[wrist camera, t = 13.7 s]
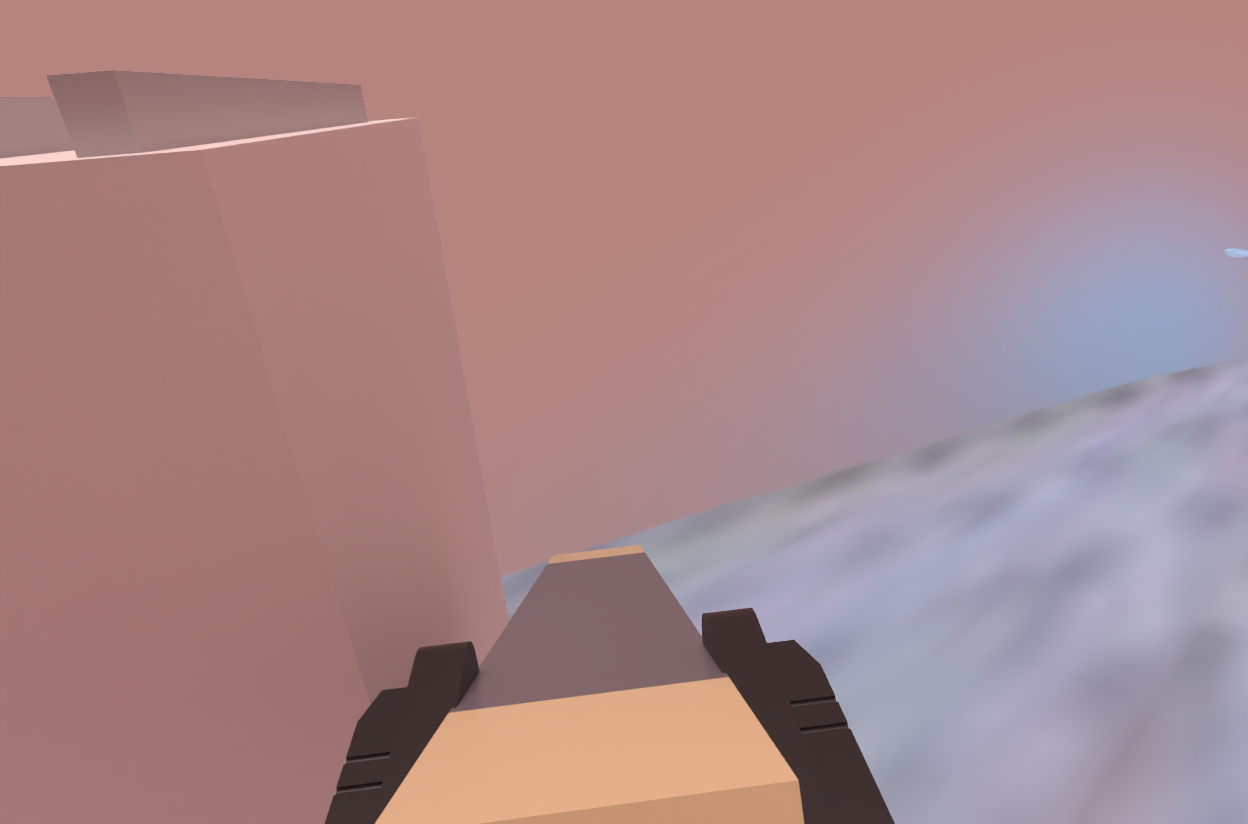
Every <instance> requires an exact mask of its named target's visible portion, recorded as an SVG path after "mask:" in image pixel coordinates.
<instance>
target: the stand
mask: <svg viewBox="0 0 1248 824" xmlns="http://www.w3.org/2000/svg"><path fill="white" fill-rule="evenodd" d="M47 79H48V81H49V84H50V87H51V89H52V92H53V95H54V97H0V824H325V821H326V817H327V814H328V811H329V808H330V805H331V802H332V799H333V796H334V795H336V792H337V789H336V786H337V783H338V780H339V777H340V774H341V771H342V768H343V765H344V764H346V756H347V752H348V749H349V746H350V743H351V740H352V737H353V734H354V731H355V728H356V725H357V722H358V720H359V719H360V718H361V717H362V715H363V714H364V713H365V711H366V710H367V709H368V708H369V706H370V705H371V704H372V702H373V701H374V700H375V699H376V697H377V696H378V695H379V693H380V692H381V691H382V690H387V689H395V688H403V687H407V686H408V682H409V678H410V674H411V670H412V666H413V662H414V659H415V655H416V652H417V650H418V649H419V648H420V647H427V646H435V645H443V644H452V643H460V642H468V641H471V642H472V643H473V645H474V648H475V652H476V657H477V661H478V666H480V665H481V663H482V662H483V660H484V659H485V657H486V656H487V654H488V653H489V651H490V650H491V648H492V647H493V645H494V644H495V642H496V641H497V639H498V638H499V636H500V635H501V633H502V632H503V630H504V629H505V627H506V626H507V624H508V623H509V620H508V614H507V609H506V603H505V598H504V592H503V587H502V581H501V575H500V570H499V564H498V559H497V553H496V548H495V542H494V537H493V531H492V526H491V520H490V515H489V509H488V504H487V498H486V492H485V487H484V481H483V476H482V470H481V465H480V459H479V454H478V449H477V443H476V438H475V432H474V426H473V420H472V415H471V409H470V404H469V398H468V394H467V387H466V382H465V377H464V371H463V365H462V360H461V354H460V349H459V343H458V337H457V332H456V327H455V321H454V315H453V310H452V305H451V299H450V293H449V288H448V282H447V277H446V271H445V266H444V260H443V255H442V249H441V243H440V238H439V232H438V227H437V222H436V216H435V211H434V205H433V200H432V194H431V188H430V183H429V177H428V171H427V166H426V160H425V155H424V149H423V145H422V138H421V133H420V128H419V122H418V118H417V117H416V118H405V119H393V120H392V119H391V120H379V121H368V119H367V115H366V110H365V105H364V100H363V95H362V91H361V87H360V85H351V84H334V83H316V82H300V81H299V82H298V81H283V80H282V81H281V80H266V79H249V78H232V77H215V76H213V77H212V76H198V75H180V74H163V73H145V72H129V71H102V72H88V73H75V74H62V75H48V76H47Z"/></svg>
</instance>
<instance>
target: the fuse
mask: <svg viewBox="0 0 1248 824" xmlns="http://www.w3.org/2000/svg"><path fill="white" fill-rule="evenodd" d="M375 824H804V817H803V810H802V802H801V795H800V787H799V780H798V779H797V777H796V776H795V774H794V773H793V771H792V770H791V768H790V767H789V765H788V764H787V762H786V761H785V759H784V758H783V756H782V755H781V753H780V752H779V750H778V749H777V747H776V746H775V744H774V743H773V742H772V740H771V739H770V737H769V736H768V734H767V733H766V731H765V730H764V728H763V727H762V725H761V724H760V722H759V721H758V719H757V718H756V716H755V715H754V713H753V712H752V710H751V709H750V708H749V706H748V705H747V703H746V702H745V700H744V699H743V697H742V696H741V694H740V693H739V691H738V690H737V688H736V687H735V685H734V684H733V682H732V681H731V679H730V678H729V676H728V675H727V673H722V672H721V671H720V669H719V668H718V666H717V665H716V663H715V662H714V660H713V658H712V657H711V655H710V654H709V652H708V651H707V649H706V648H705V646H704V645H703V640H702V636H701V635H700V634H699V632H698V631H697V629H696V628H695V626H694V625H693V623H692V622H691V620H690V619H689V617H688V616H687V614H686V613H685V611H684V610H683V608H682V607H681V605H680V604H679V602H678V601H677V599H676V598H675V597H674V595H673V594H672V592H671V591H670V589H669V588H668V586H667V585H666V583H665V582H664V580H663V579H662V577H661V576H660V574H659V573H658V571H657V570H656V568H655V567H654V565H653V564H652V562H651V561H650V560H649V558H648V557H647V555H646V554H645V552H644V551H643V549H642V548H641V546H640V545H636V546H628V547H619V548H611V549H602V550H594V551H585V552H577V553H569V554H560V555H553V556H552V558H551V559H550V561H549V562H548V564H547V565H546V567H545V568H544V570H543V571H542V573H541V574H540V576H539V577H538V579H537V580H536V582H535V583H534V585H533V587H532V588H531V590H530V591H529V593H528V594H527V596H526V597H525V599H524V600H523V602H522V603H521V605H520V606H519V608H518V609H517V611H516V612H515V614H514V615H513V617H512V618H511V620H510V621H509V623H508V624H507V626H506V627H505V629H504V630H503V632H502V633H501V635H500V636H499V638H498V639H497V641H496V642H495V644H494V645H493V647H492V648H491V650H490V651H489V653H488V654H487V656H486V657H485V659H484V660H483V662H482V663H481V665H480V666H479V673H478V675H477V676H476V678H475V679H474V681H473V682H472V684H471V685H470V687H469V689H468V690H467V692H466V693H465V695H464V696H463V698H462V700H461V701H460V703H459V704H458V706H457V707H456V708H451V710H450V711H449V713H448V714H447V716H446V717H445V719H444V720H443V722H442V723H441V725H440V726H439V728H438V729H437V731H436V732H435V734H434V735H433V737H432V738H431V740H430V741H429V743H428V744H427V746H426V747H425V749H424V750H423V752H422V753H421V755H420V756H419V758H418V759H417V761H416V762H415V764H414V765H413V767H412V768H411V770H410V772H409V773H408V775H407V776H406V778H405V779H404V781H403V782H402V784H401V785H400V787H399V788H398V790H397V791H396V793H395V794H394V796H393V797H392V799H391V800H390V802H389V803H388V805H387V806H386V808H385V809H384V811H383V812H382V814H381V815H380V817H379V818H378V820H377V821H376V823H375Z"/></svg>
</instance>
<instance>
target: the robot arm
mask: <svg viewBox="0 0 1248 824" xmlns="http://www.w3.org/2000/svg"><path fill="white" fill-rule="evenodd" d="M702 640H703V645H704V646H705V648H706V649H707V651H708V652H709V654H710V655H711V657H712V658H713V660H714V662H715V663H716V665H717V666H718V668H719V669H720V671H721V672H722V673H727V675H728V676H729V678H730V679H731V681H732V682H733V684H734V685H735V687H736V688H737V690H738V691H739V693H740V694H741V696H742V697H743V699H744V700H745V702H746V703H747V705H748V706H749V708H750V709H751V710H752V712H753V713H754V715H755V716H756V718H757V719H758V721H759V722H760V724H761V725H762V727H763V728H764V730H765V731H766V733H767V734H768V736H769V737H770V739H771V740H772V742H773V743H774V744H775V746H776V747H777V749H778V750H779V752H780V753H781V755H782V756H783V758H784V759H785V761H786V762H787V764H788V765H789V767H790V768H791V770H792V771H793V773H794V774H795V776H796V777H797V779H798V780H799V787H800V795H801V802H802V810H803V817H804V824H895V823H894V821H893V819H892V817H891V815H890V813H889V810H888V808H887V806H886V804H885V802H884V800H883V798H882V795H881V793H880V791H879V789H878V787H877V785H876V783H875V780H874V778H873V776H872V774H871V772H870V770H869V768H868V765H867V763H866V761H865V759H864V757H863V755H862V752H861V750H860V748H859V746H858V744H857V742H856V740H855V737H854V735H853V733H852V731H851V729H849V728H848V725H847V720H846V718H845V716H844V714H843V712H842V710H841V707H840V705H839V703H838V702H836V699H835V695H834V692H833V690H832V688H831V686H830V684H829V682H828V680H827V677H826V675H825V673H824V671H823V669H822V667H821V665H820V664H819V663H818V662H817V661H816V660H815V659H814V658H813V657H812V656H811V655H810V654H809V653H808V652H807V651H805V650H804V649H803V648H802V647H801V646H800V645H799V644H798V643H797V642H796V641H795V640H789V641H781V642H773V643H767V642H766V640H765V637H764V634H763V632H762V629H761V627H760V624H759V621H758V619H757V616H756V614H755V612H754V610H753V609H752V608H746V609H737V610H729V611H721V612H713V613H704V614H703V615H702ZM478 673H479V666H478V661H477V657H476V652H475V648H474V645H473V643H472V642H471V641H468V642H460V643H452V644H443V645H435V646H427V647H420V648H419V649H418V650H417V652H416V655H415V659H414V662H413V666H412V670H411V674H410V678H409V682H408V686H407V687H403V688H395V689H387V690H382V691H381V692H380V693H379V695H378V696H377V697H376V699H375V700H374V701H373V702H372V704H371V705H370V706H369V708H368V709H367V710H366V711H365V713H364V714H363V715H362V717H361V718H360V719H359V720H358V722H357V725H356V728H355V731H354V734H353V737H352V740H351V743H350V746H349V749H348V752H347V756H346V764H344V765H343V768H342V771H341V774H340V777H339V780H338V783H337V786H336V789H337V792H336V795H334V796H333V799H332V802H331V805H330V808H329V811H328V814H327V817H326V821H325V824H375V823H376V821H377V820H378V818H379V817H380V815H381V814H382V812H383V811H384V809H385V808H386V806H387V805H388V803H389V802H390V800H391V799H392V797H393V796H394V794H395V793H396V791H397V790H398V788H399V787H400V785H401V784H402V782H403V781H404V779H405V778H406V776H407V775H408V773H409V772H410V770H411V768H412V767H413V765H414V764H415V762H416V761H417V759H418V758H419V756H420V755H421V753H422V752H423V750H424V749H425V747H426V746H427V744H428V743H429V741H430V740H431V738H432V737H433V735H434V734H435V732H436V731H437V729H438V728H439V726H440V725H441V723H442V722H443V720H444V719H445V717H446V716H447V714H448V713H449V711H450V710H451V708H456V707H457V706H458V704H459V703H460V701H461V700H462V698H463V696H464V695H465V693H466V692H467V690H468V689H469V687H470V685H471V684H472V682H473V681H474V679H475V678H476V676H477V675H478Z"/></svg>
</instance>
